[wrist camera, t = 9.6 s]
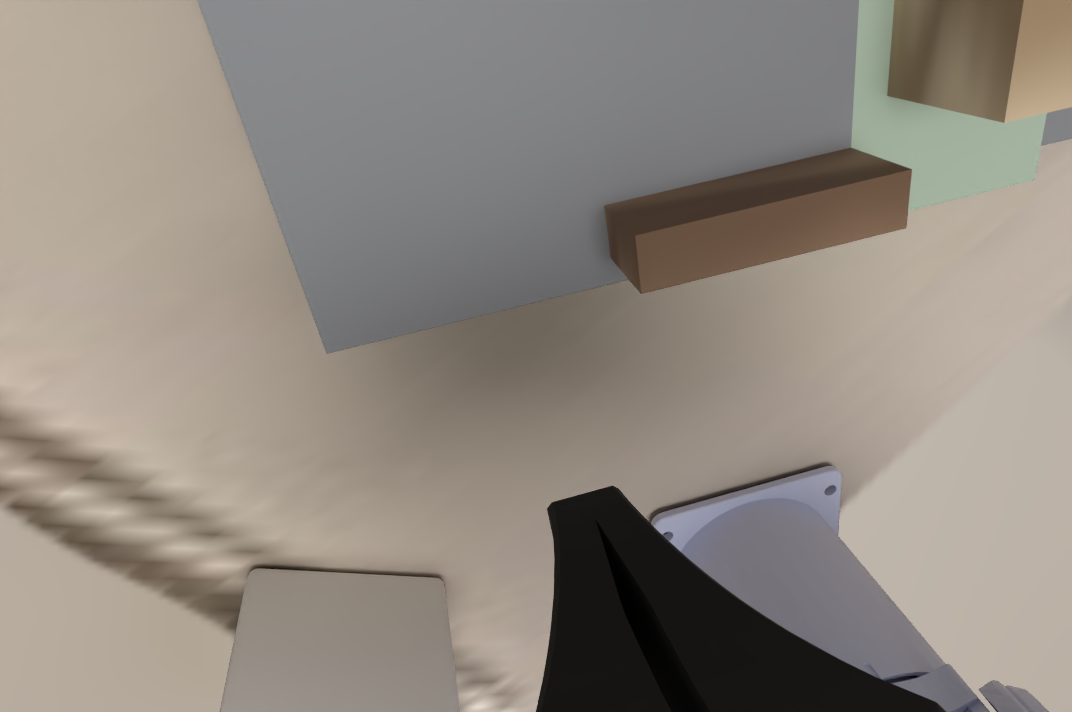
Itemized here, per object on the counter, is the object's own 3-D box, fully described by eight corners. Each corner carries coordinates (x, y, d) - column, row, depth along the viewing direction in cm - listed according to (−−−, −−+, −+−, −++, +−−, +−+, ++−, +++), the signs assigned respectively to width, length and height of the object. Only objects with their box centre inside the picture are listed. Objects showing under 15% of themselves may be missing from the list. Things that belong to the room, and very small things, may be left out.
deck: (1160, 109, 24) (1254, 125, 22) (331, 308, 21) (326, 353, 19) (1272, -317, 19) (1417, -363, 16) (180, -124, 16) (145, -144, 13)
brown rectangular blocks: (847, 200, 20) (906, 228, 18) (610, 258, 19) (641, 293, 17) (871, -224, 15) (954, -258, 13) (557, -168, 15) (590, -193, 12)
